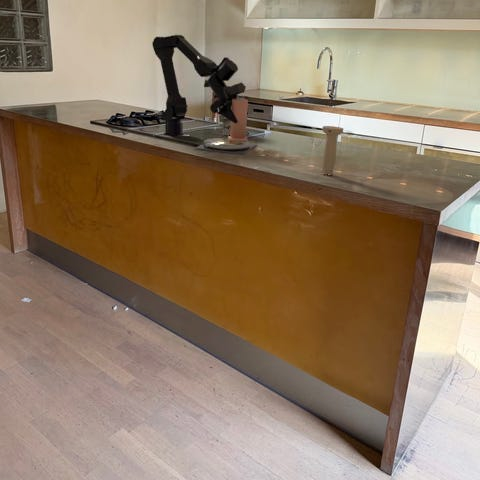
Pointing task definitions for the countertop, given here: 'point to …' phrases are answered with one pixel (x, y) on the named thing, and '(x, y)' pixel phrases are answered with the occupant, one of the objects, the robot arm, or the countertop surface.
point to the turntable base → (242, 151)
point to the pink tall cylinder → (239, 120)
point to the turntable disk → (225, 144)
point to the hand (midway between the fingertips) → (241, 122)
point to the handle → (330, 148)
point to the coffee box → (227, 125)
